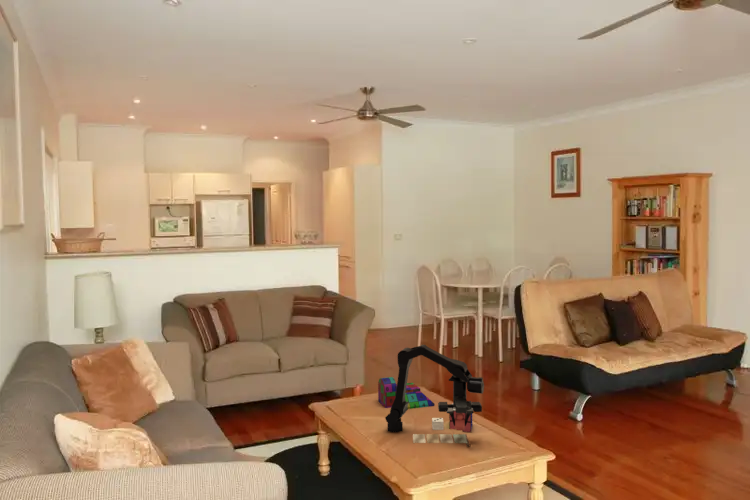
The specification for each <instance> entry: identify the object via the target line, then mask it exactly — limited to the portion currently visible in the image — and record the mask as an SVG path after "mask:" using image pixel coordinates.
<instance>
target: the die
mask: <svg viewBox="0 0 750 500" xmlns="http://www.w3.org/2000/svg"><path fill="white" fill-rule="evenodd" d="M431 428H432V431H444V430H445V429H444V418H443V417H432V418H431Z"/></svg>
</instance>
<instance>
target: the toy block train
mask: <svg viewBox="0 0 750 500" xmlns="http://www.w3.org/2000/svg"><path fill="white" fill-rule="evenodd" d="M377 383H378V384H377V385H378V386H377V389H378V390H377V391H378V394H377V395H378V397H377V399H378V400H377V401H378V403H379V404H380V405H381V406H383V407H384V408H385V409H389V408H390V409H391V407H392V404H393V402H394V400H395V396H396V389H397V382H396V379H395V378H394V376H388V377H380V378H379V379H378V382H377ZM405 400H406V402H409V403H408V410H412V409H420V408H427V407H428V408H429V407H434V406H435V403H434V402H433V400H432V399H430V398H429V397H427V395H425V393H423V392H422V391H421V387H419V386H418V385H416V384H415V383H414V382H407V386H406V393H405Z"/></svg>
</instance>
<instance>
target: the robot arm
mask: <svg viewBox="0 0 750 500" xmlns="http://www.w3.org/2000/svg"><path fill="white" fill-rule="evenodd" d="M420 356H423V357H425V358H427V359H428V360H431V362H434V363H436V364H438V365H439V366H441V367H444V368H445V369H446V370H447V371H448V373H449V374H451V377H449V378H448V381H449V382H452V386H453V389H452V392H453V393H452V395H453V396H452V398H453V399H452V400H453V401H452V403H451V404H450V403H449V404H448V401H439V402H438V404H437V408H438V412H440V413H446V414H450V416H451V418H452V421H453V424H454V426H455V419H454V412H453V409H455V410H456V413H465V426H466V424H467V421H468V418H469V416H470V415H471V414H472V415H473V414H474V413H482V411H483V406H482V404H481V402H480V401H472V400H467V391H468V393H470V394H471V393H472V394H480V395H481V394H482V395H483V394H484V390H485V383H484V379H483V377H480V376H478V377H475V376H473V375H472V373H471V372H470V370H469V369H468V365H467V363H465V362H464V361H461V360H458V359H453V358H450V357H448V356H445V355H444V354H443V353H440V352H438V351H436V350H435V349H432V348H430V347H429V346H427V345H426V344H420V345H419V346H414V347H404V348H403V349H402V350H400V351H399V352H398V353H397V365H398V374H397V382H396V384H397V389H396V396H395V400H394V402H393V404H392V407H391V408H390V412H389V413H388V414H387V415H386V416H385V417H384V418H385V419H384V420H385V421H386V423H387V432H390V433H400V432H403V430H404V428H403V427H404V426H403V421H402V417H403V416H404V415H405V414H406V413H407V411H408V410H409V409H408V403H409V402H406V400H405V393H406V386H407V383H408V377H409V371H410V367H411V364H412V362H413V359H414V358H417V357H420Z"/></svg>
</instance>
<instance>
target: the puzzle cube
mask: <svg viewBox="0 0 750 500" xmlns="http://www.w3.org/2000/svg"><path fill="white" fill-rule="evenodd" d="M453 412H454V419H455V418H456V414H457V413H456V410H455V409H453ZM463 415H464V418H465V413H463ZM448 416H449V419H448V420H449V423H448V424H449V429H450V430H456V429H455V426H454V424H453V421H452V418H451V416H450V414H449V415H448ZM472 429H473V414H471V415H470V416H469V418H468V421H467V424H466V426H465V429H464V430H461V431H462V433H472Z"/></svg>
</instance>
